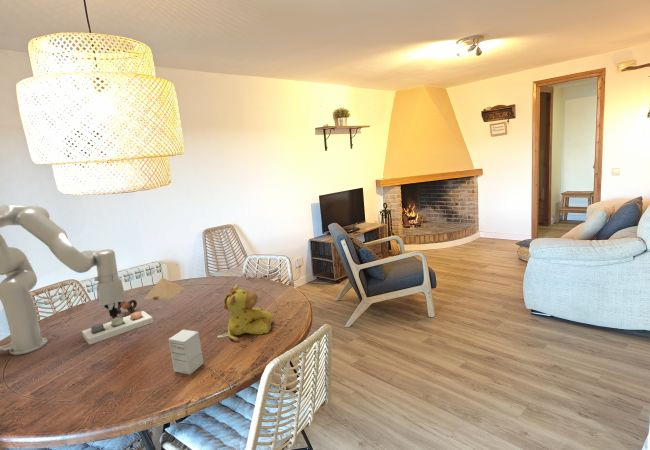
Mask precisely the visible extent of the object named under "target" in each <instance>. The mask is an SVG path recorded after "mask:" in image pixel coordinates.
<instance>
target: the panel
mask: <svg viewBox="0 0 650 450" xmlns="http://www.w3.org/2000/svg"><path fill="white" fill-rule="evenodd" d="M140 312H141V313H142V317H141V319H138V320H135V321H133V319H131V315H129V316H126V315H125V316H123V317H122V318H123V321H124V322H123V323H122V325H120V326H117V327H114V326H113V325H112V322H111V321H108V322H106V323H102V324H103V326H104V329H103V330H102V332H99V333H96V334H94V333H93V332H92V330H91V327H90V328H87V329H84V330H81V333H82V337H83V338H84V340H85V342H86V343H87V344H88V345H90V346H91V345H93V344H96V343H98V342H102V341H104V340H106V339H109V338H113V337H115V336H119V335H121V334H123V333H124V334H125V333H126V332H130V331H133V330H136V329H138V328H142V327H145V326H147V325H150V324H153V323H154V319H153V317H152V315H150V314H148V313H147V312H146V311H144V310H141V311H140Z"/></svg>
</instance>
